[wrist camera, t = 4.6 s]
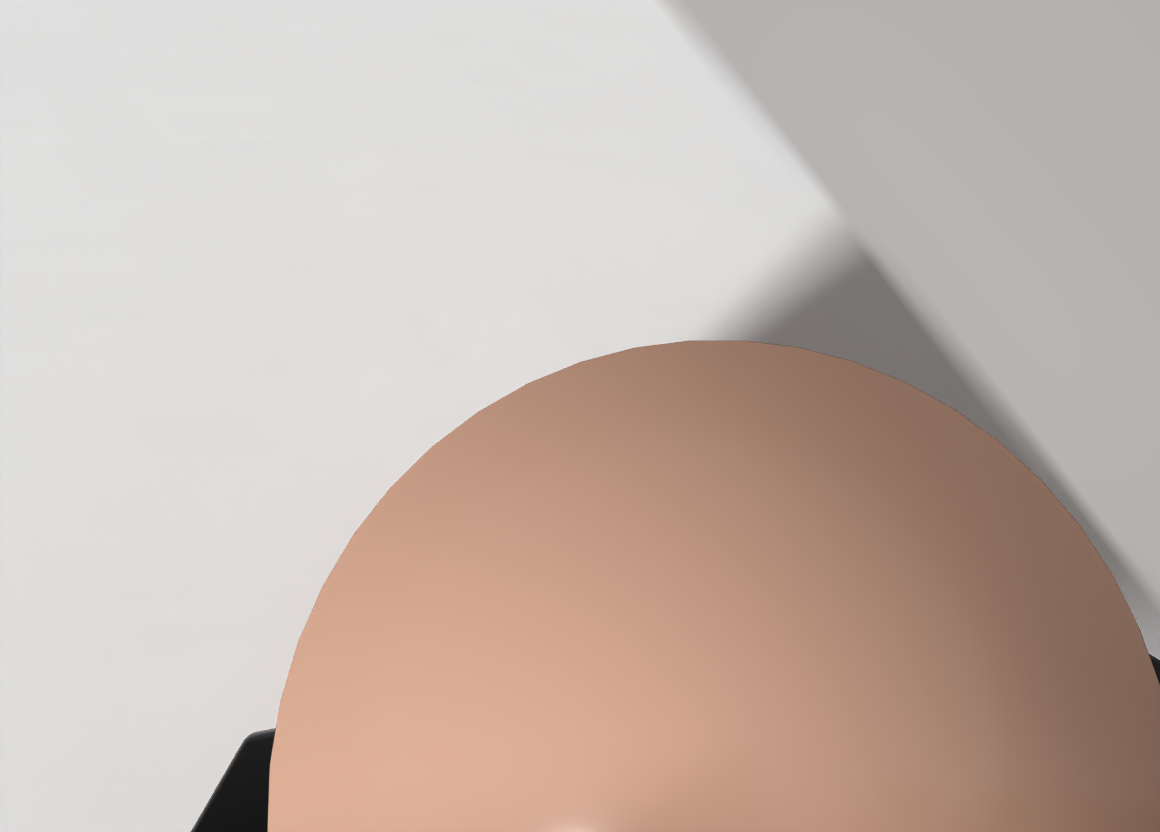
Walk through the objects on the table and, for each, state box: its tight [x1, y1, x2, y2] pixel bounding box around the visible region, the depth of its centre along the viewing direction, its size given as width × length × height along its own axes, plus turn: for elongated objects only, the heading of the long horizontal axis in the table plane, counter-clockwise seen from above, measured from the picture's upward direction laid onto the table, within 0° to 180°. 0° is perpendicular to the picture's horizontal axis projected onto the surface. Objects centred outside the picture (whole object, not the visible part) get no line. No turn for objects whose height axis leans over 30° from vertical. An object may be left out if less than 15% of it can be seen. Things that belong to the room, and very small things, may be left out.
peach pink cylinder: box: [268, 341, 1160, 832], centre depth 12 cm, size 6×6×10 cm
